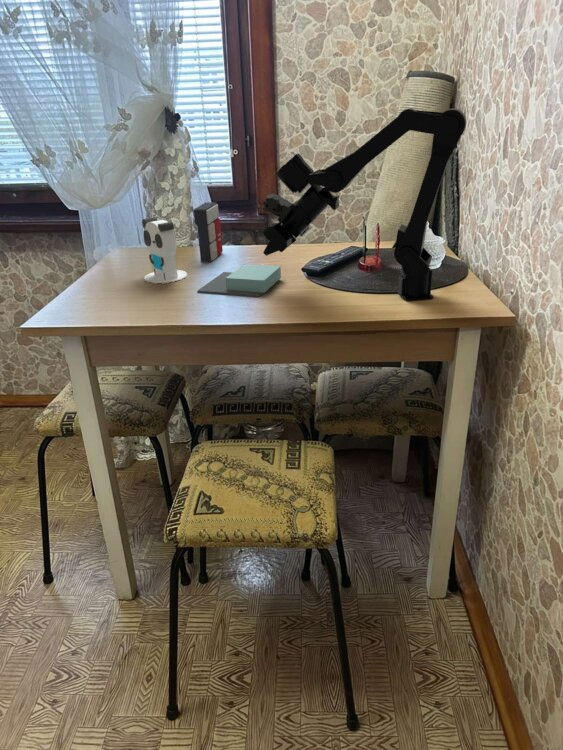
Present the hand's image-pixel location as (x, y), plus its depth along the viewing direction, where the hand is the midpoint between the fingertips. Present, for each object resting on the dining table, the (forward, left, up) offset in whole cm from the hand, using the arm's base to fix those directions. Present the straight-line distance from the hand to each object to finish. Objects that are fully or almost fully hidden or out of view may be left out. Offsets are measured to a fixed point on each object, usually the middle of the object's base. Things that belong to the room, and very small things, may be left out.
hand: (265, 253), depth 138 cm
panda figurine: (+26, -16, -8) cm, 31 cm away
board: (-2, +1, -6) cm, 6 cm away
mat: (+6, -3, -8) cm, 11 cm away
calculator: (+13, -32, -8) cm, 35 cm away
